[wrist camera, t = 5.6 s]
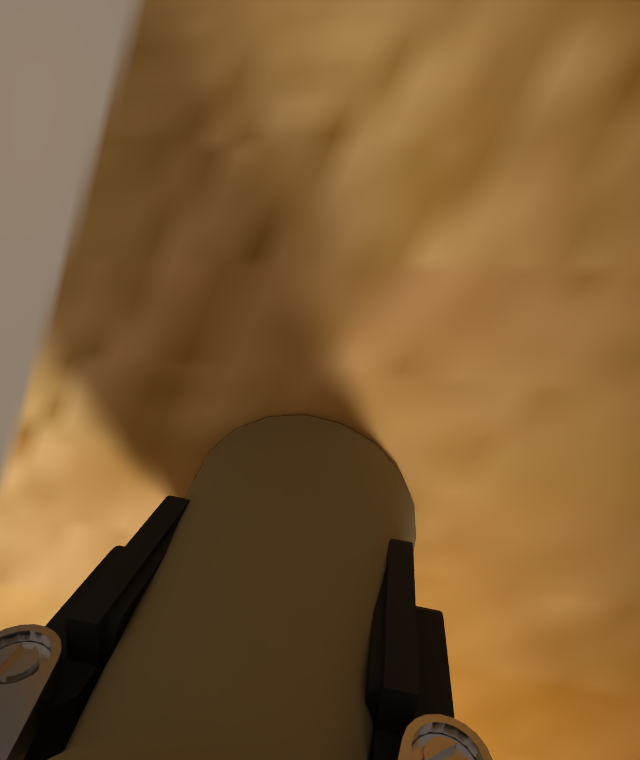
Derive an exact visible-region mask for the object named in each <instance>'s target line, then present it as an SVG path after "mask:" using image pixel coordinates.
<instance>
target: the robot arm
mask: <svg viewBox="0 0 640 760" xmlns="http://www.w3.org/2000/svg"><path fill="white" fill-rule="evenodd" d="M189 501H190V500H189V499H185V498H180V497H175V496H167V497H166V498H165V499H164V500H163V502H162V503H161V504H160V505H159V506H158V508H157V509H156V510H155V511H154V512H153V514H152V515H151V516H150V517H149V518H148V520H147V521H146V522H145V523H144V524H143V526H142V527H141V528H140V529H139V530H138V532H137V533H136V534H135V535H134V536H133V538H132V539H131V540H130V541H129V542H128V544H127V545H126V546H125V547H124V546H116V547H114V548H113V549H112V550H111V551H110V552H109V553H108V554H107V556H106V557H105V558H104V559H103V560H102V561H101V562H100V564H99V565H98V566H97V567H96V568H95V569H94V571H93V572H92V573H91V574H90V575H89V576H88V577H87V579H86V580H85V581H84V582H83V583H82V584H81V586H80V587H79V588H78V589H77V590H76V591H75V592H74V594H73V595H72V596H71V597H70V598H69V599H68V601H67V602H66V603H65V604H64V605H63V606H62V607H61V609H60V610H59V611H58V612H57V613H56V614H55V616H54V617H53V618H52V619H51V620H50V621H49V622H48V624H47V625H46V626H41V625H35V624H30V625H18V626H14V627H10V628H6V629H4V630H2V631H0V760H47V759H49V758H52V757H54V756H56V755H58V754H60V753H62V752H64V750H65V747H66V745H67V743H68V741H69V739H70V737H71V735H72V733H73V731H74V729H75V727H76V724H77V722H78V720H79V718H80V716H81V714H82V712H83V710H84V708H85V706H86V704H87V702H88V699H89V697H90V695H91V693H92V691H93V689H94V687H95V685H96V683H97V681H98V679H99V676H100V674H101V672H102V671H103V669H104V667H105V666H106V664H107V662H108V660H109V659H110V657H111V655H112V654H113V652H114V650H115V648H116V646H117V644H118V642H119V640H120V638H121V636H122V634H123V632H124V630H125V628H126V626H127V624H128V622H129V620H130V618H131V616H132V614H133V612H134V610H135V608H136V606H137V605H138V603H139V601H140V599H141V597H142V596H143V594H144V592H145V590H146V588H147V587H148V585H149V583H150V581H151V579H152V578H153V576H154V574H155V572H156V570H157V569H158V567H159V565H160V563H161V561H162V560H163V558H164V556H165V554H166V552H167V550H168V547H169V545H170V542H171V540H172V537H173V535H174V532H175V530H176V527H177V525H178V522H179V520H180V517H181V515H182V514H183V512H184V510H185V509H186V507H187V505H188V503H189ZM365 704H366V706H367V708H368V710H369V712H370V714H371V716H372V718H373V724H374V732H373V742H372V752H371V760H493V759H492V757H491V755H490V753H489V750H488V748H487V746H486V745H485V744H484V742H483V741H482V740H481V738H480V737H479V736H478V735H477V734H476V733H475V732H474V731H473V730H472V729H470V728H469V727H468V726H467V725H466V724H464V723H462V722H460V721H458V720H456V719H454V710H453V701H452V692H451V682H450V673H449V664H448V655H447V646H446V637H445V628H444V619H443V614H442V612H441V611H438V610H433V609H428V608H423V607H418V606H416V605H415V580H414V556H413V543H412V542H408V541H403V540H398V539H391V540H390V541H389V546H388V559H387V567H386V570H385V574H384V577H383V581H382V584H381V588H380V591H379V595H378V598H377V602H376V605H375V609H374V613H373V624H372V635H371V645H370V656H369V666H368V677H367V688H366V698H365Z"/></svg>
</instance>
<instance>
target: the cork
mask: <svg viewBox="0 0 640 760" xmlns="http://www.w3.org/2000/svg"><path fill="white" fill-rule="evenodd" d="M185 499H189V500H190V501H189V503H188V505H187V507H186V509H185V510H184V512H183V514H182V515H181V517H180V520H179V522H178V525H177V527H176V530H175V532H174V535H173V537H172V540H171V542H170V545H169V547H168V550H167V552H166V554H165V556H164V558H163V560H162V561H161V563H160V565H159V567H158V569H157V570H156V572H155V574H154V576H153V578H152V579H151V581H150V583H149V585H148V587H147V588H146V590H145V592H144V594H143V596H142V597H141V599H140V601H139V603H138V605H137V606H136V608H135V610H134V612H133V614H132V616H131V618H130V620H129V622H128V624H127V626H126V628H125V630H124V632H123V634H122V636H121V638H120V640H119V642H118V644H117V646H116V648H115V650H114V652H113V654H112V655H111V657H110V659H109V660H108V662H107V664H106V666H105V667H104V669H103V671H102V672H101V674H100V676H99V679H98V681H97V683H96V685H95V687H94V689H93V691H92V693H91V695H90V697H89V699H88V702H87V704H86V706H85V708H84V710H83V712H82V714H81V716H80V718H79V720H78V722H77V724H76V727H75V729H74V731H73V733H72V735H71V737H70V739H69V741H68V743H67V745H66V747H65V750H64V752H62V753H60V754H58V755H56V756H54V757H52V758H49V759H47V760H371V752H372V742H373V732H374V724H373V718H372V716H371V714H370V712H369V710H368V708H367V706H366V704H365V698H366V688H367V677H368V666H369V656H370V645H371V635H372V624H373V613H374V609H375V605H376V602H377V598H378V595H379V591H380V588H381V584H382V581H383V577H384V574H385V570H386V567H387V559H388V546H389V541H390V540H391V539H398V540H403V541H408V542H412V543H413V551H414V545H415V540H416V528H415V509H414V503H413V500H412V498H411V496H410V493H409V491H408V488H407V486H406V484H405V481H404V479H403V477H402V474H401V472H400V471H399V470H398V469H397V468H396V466H395V465H394V464H393V463H392V462H391V461H390V460H389V459H388V457H387V456H386V455H385V454H384V453H383V452H382V451H381V450H380V448H379V447H378V446H377V445H376V444H374V443H373V442H371V441H369V440H368V439H366V438H365V437H363V436H361V435H360V434H358V433H356V432H355V431H353V430H351V429H350V428H348V427H346V426H345V425H343V424H339V423H335V422H331V421H327V420H323V419H320V418H316V417H312V416H308V415H294V416H271V417H266V418H264V419H261V420H258V421H256V422H253V423H250V424H248V425H245V426H242V427H240V428H237V429H235V430H234V431H233V432H232V433H230V434H229V435H228V436H227V437H226V438H224V439H223V440H222V441H221V442H220V443H218V444H217V445H216V446H215V447H214V448H212V449H211V450H210V452H209V454H208V455H207V457H206V459H205V461H204V462H203V464H202V466H201V468H200V469H199V471H198V473H197V475H196V476H195V478H194V480H193V483H192V485H191V487H190V489H189V491H188V493H187V495H186V497H185Z"/></svg>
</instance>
